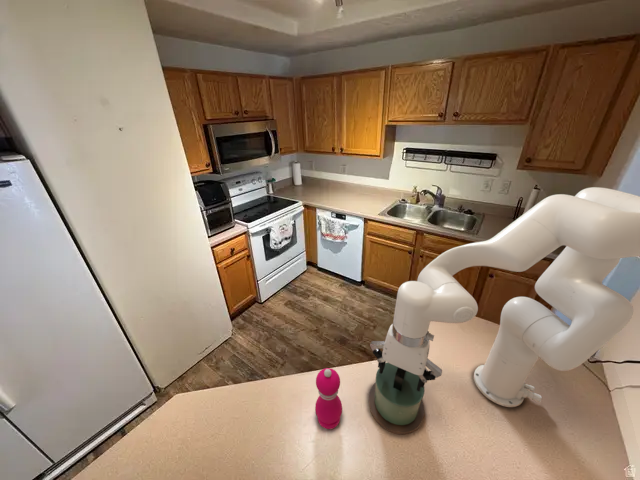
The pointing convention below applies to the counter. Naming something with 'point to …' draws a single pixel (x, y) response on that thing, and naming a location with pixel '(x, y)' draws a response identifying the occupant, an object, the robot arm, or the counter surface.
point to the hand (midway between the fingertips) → (400, 377)
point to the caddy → (397, 395)
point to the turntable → (390, 426)
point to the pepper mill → (328, 398)
